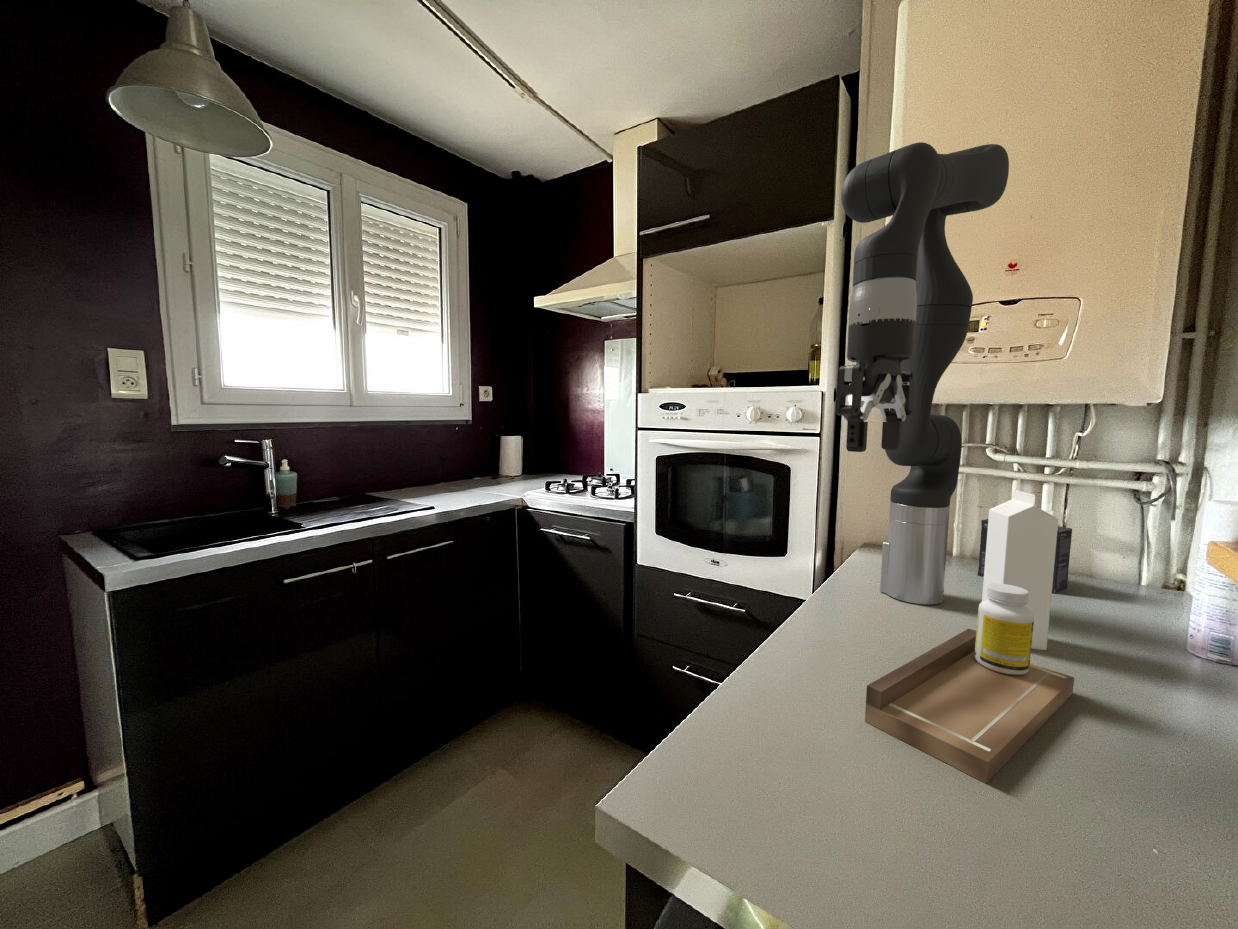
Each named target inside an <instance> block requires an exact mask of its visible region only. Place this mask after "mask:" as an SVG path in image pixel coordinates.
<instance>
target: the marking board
mask: <svg viewBox="0 0 1238 929" xmlns="http://www.w3.org/2000/svg"><path fill="white" fill-rule="evenodd" d="M976 631H977V630H974V629H971V628H967V629H965V630H964V631H961V632H960V633H958V634H956V635H955V636H953V637H951V638H949V639H948V640H946V641H943V642H942V643H941V644H938V645H937V646H935V647H933V648H932V649H930V650H928V651H926V652H924V653H923V654H921V655H918V656H917V657H915V658H913V659H912V660H910V661H908V662H906V663H905V664H903V665H901V666H899V667H897V668H896V669H894V670H892V671H891V672H888V673H887V674H885V675H883V676H881V677H879V678H878V679H876V680H874V681H873V682H870V683H869V684H867V685H866V694H865V712H864V722H865V723H867V724H869V725H871V726H873V727H875V728H877V729H879V730H881V731H883V732H884V733H886V734H888V735H891V736H892V737H894V738H897V739H898V740H900V741H903V742H904V743H906V744H908V745H910V746H913V747H914V748H916V749H918V750H920V751H922V752H924V753H926V754H927V755H929V756H932V757H933V758H936V759H937V760H939V761H941V762H943V763H946V764H947V765H949V766H951V767H953V768H955V769H957V770H959V771H961V772H963V773H965V774H966V775H969V776H971V777H973V778H975V779H977V780H979V781H980V782H982V783H985V784H988V783H989V782H990V780H991V779H993V778H994V777H995V775H996V774H997V773H998V772H999V771H1000V770H1001V769H1002V768H1003V767H1004V766H1006V764H1007V763H1008V762H1009V761H1010V760H1011V759H1012V757H1013V756H1015V754H1016V753H1017V752H1019V750H1021V749H1022V747H1023V746H1024V745H1025V744H1026V743H1027V742H1028V741H1029V740H1030V739H1032V737H1033V736H1034V735H1035V734H1036V732H1037V731H1038V730H1039V729H1040V728H1041V727H1042V726H1043V725H1044V724H1046V723H1047V722H1048V720H1049V719H1050V718H1051V717H1052V716H1053V715H1054V713H1056V712H1057V710H1059V709H1060V707H1062V706H1063V704H1065V703H1066V702H1067V701H1068V699H1069V698H1070V697H1071V696H1072V695H1073V694H1074V687H1075V686H1074V685H1075V677H1074V676H1071V675H1068V674H1065V673H1062V672H1059V671H1056V670H1053V669H1050V668H1046V667H1044V666H1043V667H1042V666H1040V665H1037V664H1034V663H1032V662H1030V667H1029V671H1028V673H1026V674H1023V675H1011V674H1004V673H1000V672H996V671H993V670H991V669H988V668H986V667H984V666H983V665H981V664H980V663H978V662H977V661H976V659H975V642H976Z"/></svg>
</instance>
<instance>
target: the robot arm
mask: <svg viewBox="0 0 1238 929" xmlns="http://www.w3.org/2000/svg"><path fill="white" fill-rule="evenodd" d="M1009 170H1010V158H1009V155H1008V152H1007V150H1006V148H1005V147H1003V146H1002V145H1000V144H996V143H989V144H988V143H987V144H983V145H977V146H974V147H970V148H967V149H962V150H958V151H955V152H950V153H949V152H948V153H938V152H937V150H936V149H935V148H934V147H933V146H932V145H931V144H930V143H927V142H923V141H922V142H921V141H920V142H914V143H910V144H909V145H906V146H903V147H900V148H897V149H894V150H892V151H890V152H887V153H884V154H881V155H878V156H876V157H874V158H873V157H872V158H870V159H868V160H865V161H863V162H861V163H859V164H857V165H856V166H855V167H853V168H852V169H851V170H850V171H849V173H848V174H847V176H846V178H845V179H844V181H843V184H842V187H841V192H840V193H841V194H840V201H841V204H842V208H843V210H844V212H845V214H846V215H847V217H848V218H850V219H852V220H853V221H855V222H858V223H861V224H865V223H866V224H867V223H871V222H875V221H879V220H882V219H885V218H888V217H889V218H890V217H891V219H889V222H888V223H887V224H886V225H884V226H883V227H882V228H880V229H879V230H877V231H875V232H872V233H871V234H869V235H867V236H866V237H864V238H863V239H861V240H860V241H858V243H857V245H856V247H855V250H854V255H853V257H854V258H853V271H852V272H853V273H852V274H853V275H852V290H851V291H852V292H851V297H850V301H849V308H848V310H849V311H848V329H847V330H848V331H847V347H846V348H847V349H846V358H847V360H848V361H849V362H852V363H856V364H851V365H850V364H847V365H840V367H839V370H838V381H837V394H836V405H835V407H836V408H835V414H836V415H837V416H842V417H843V418H844V420H845V421H846V422H847V424H846V426H847V427H846V444H845V445H846V446H845V448H846V451H847V452H854V453H863V452H866V450H867V443H868V426H869V424H868V423H869V422H868V421H867V420H868V419H869V415H870V414H871V412H872V409H874V408H876V409H879V410H880V413H881V416H882V419H883V421H882V430H881V443H880V444H881V445H880V446H881V449H883V450H885V454H886V456H887V458H888V459H889V460H890V462H891V463H893V464H895V465H897V466H901V467H910V470H909V472H908V474H907V476H906V477H905V478H904V479H903V480H901V481H899V482H897V483H895V484H894V485H893V486H892V487H891V489H890V497H889V498H890V499H889V500H890V501H889V502H890V504H889V516H888V517H889V518H888V538H887V540H885V541H883V542H882V550H881V551H882V552H881V554H882V555H881V568H880V569H881V570H880V582H879V583H880V584H879V585H880V586H879V592H880V593H884V594H886V595H887V596H889V597H891V598H893V599H896V600H898V601H903V602H907V603H909V604H910V603H911V604H917V605H939V604H941V603H943V601H944V592H945V579H946V578H945V577H946V576H945V575H946V563H947V562H946V561H947V549H948V534H949V519H950V505H951V499H952V496H953V494H954V492H955V491H956V488H957V484H958V479H959V472H960V464H961V456H962V450H963V449H962V448H963V441H962V433H961V430H960V427H959V425H958V424H957V422H956V421H955V420H954V419H953V418H951V417H950V416H947V415H943V414H931V413H932V407H933V402H934V396H935V392H936V389H937V386H938V384H939V383H940V381H941V378H942V376H943V374H944V373H945V372H946V371H947V369H948V368H949V366H950V365H951V363H952V362H953V361H954V359H955V357H957V355H958V353H959V352H960V350H961V348H962V346H963V344H964V343H965V340H966V338H967V335H968V331H969V326H970V320H971V314H972V307H973V302H974V301H973V300H974V294H973V291H972V288H971V286H970V284H969V282H968V280H967V278H966V276H965V274H964V273H963V271H962V270H961V268H960V267H959V265H958V263H957V262H956V260H955V258H954V257H953V255H952V252H951V250H950V248H949V245H948V242H947V237H946V219H947V216H953V215H961V214H966V213H970V212H977V211H981V210H984V209H987V208H990V207H992V206H994V205H995V204H996V203H997V202H998V201H999V200H1000V199H1001V198H1002V197H1003V194H1004V192H1005V191H1006V188H1007V184H1008V180H1009ZM847 396H848V397H847ZM846 402H848V404H846Z"/></svg>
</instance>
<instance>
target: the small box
mask: <svg viewBox="0 0 1238 929" xmlns="http://www.w3.org/2000/svg"><path fill="white" fill-rule="evenodd" d="M980 522H981V529H980V542H979V543H980V545H979V554H978V555H979V556H978V557H979V558H978V570H977V576H978V577H982V578H984V568H985V556H986V543H987V530H988V518H986V519H982V520H981V521H980ZM1072 536H1073V528H1072V527H1071V528H1070V527H1066V526H1059V525H1058V530H1057V540H1056V551H1055V562H1054V573H1053V584H1052V593H1054V594H1055V593H1057V592H1059V591H1063V590H1065V589H1067V588H1068V581H1069V566H1070V558H1071V549H1072V548H1071V547H1072V546H1071V545H1072Z"/></svg>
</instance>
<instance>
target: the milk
mask: <svg viewBox="0 0 1238 929" xmlns="http://www.w3.org/2000/svg"><path fill="white" fill-rule="evenodd" d="M1012 490H1013V491H1012V496H1011V497H1012V498H1011V499H1009V500H1007V501H1005V502H1003V503H1001V504H997V505H996V506H994V507H992V508H989V510H988V518H987V519H988V530H987V543H986V556H985V568H984V577H983V582H982V595H981V602H982V601H985V600H988V599H989V598H988V597H987V586H988V584H992V583H999V584H1007V585H1013V586H1017V587H1020V588H1023V589H1025V590H1027V591H1028V592H1029V596H1028V603H1027V604H1026V605H1025V607H1026V608H1028V609H1029V610H1030V611H1031V612H1032V613H1033V615H1034V625H1033V635H1032V646H1031V650H1039V651H1047V648H1048V636H1049V635H1048V634H1049V624H1050V616H1051V615H1050V614H1051V605H1052V595H1053V594H1052V593H1053V592H1052V584H1053V573H1054V562H1055V551H1056V540H1057V530H1058V526H1059V518H1058V517H1056V516H1054V515H1052V514H1051V513H1048V512H1047V511H1045V510H1043V509H1042V508H1040V507H1038V506H1036V495H1035V494H1033V493H1030V492H1026V491H1022V490H1017V489H1012Z"/></svg>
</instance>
